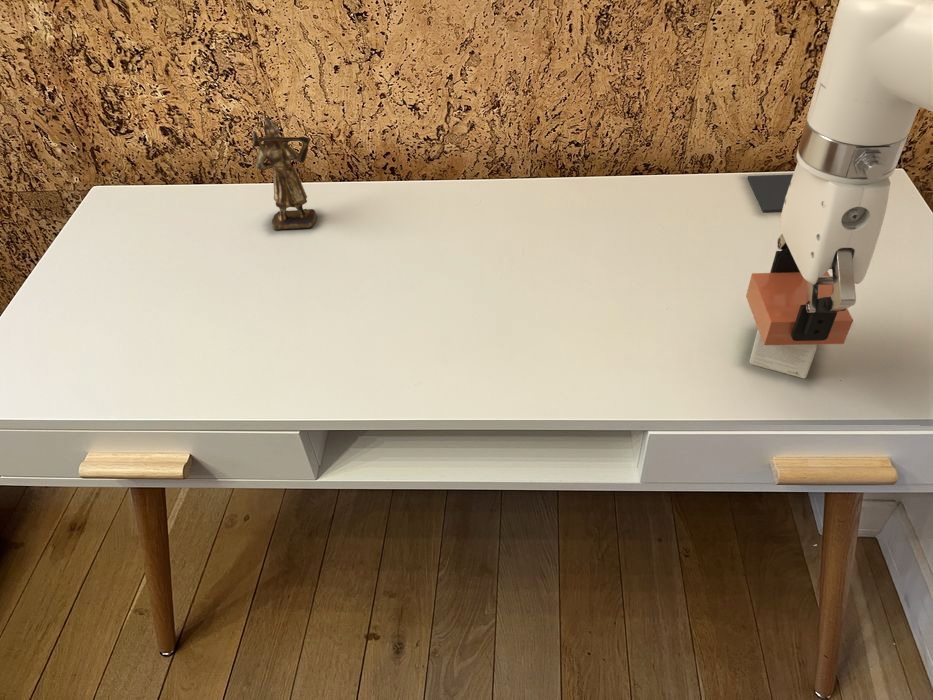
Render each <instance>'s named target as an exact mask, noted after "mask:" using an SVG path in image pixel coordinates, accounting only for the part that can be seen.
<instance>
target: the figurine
mask: <svg viewBox="0 0 933 700" xmlns="http://www.w3.org/2000/svg"><path fill="white" fill-rule="evenodd" d="M264 121H265V122H264V125H263V134H264V137H259V136H258V133H257V131H255V130H252V137H248V138H247V139H248V141H252V145H251V147H253V148H257V147H258V149H257V155H256V158H255V167H256V169H257V170H259V171H265V170H270V169H272V176H273V177H272V178H273V200H274V203H275V207H276V208H278V209H279V210H278V211H277V212H276V213H275V214H274V215H273V217H272V220H271V226H272V228H273V230H274V231H279V230H280V231H281V230H291V229H308V228H311V227H313V226H314V225H315V223H316V222H317V219H318V216H317V215H318V214H317V212H316V209H313V208H309V209H308V208H303V205H305V204H307V203H308V200H307V199H308V195H307V193H306V191H305V188H304V186H303V183H302V181H301V177H300V175H299V173H298V171H297V169H296V168H295V167H294V166H293V165H292V161H294V162H297V163H300V164H304V163H305V161H306V158H307V156H308V153H309V145H310V142H311V137H307V136H292V137H291V136H280V132H279V131H280V129H279V125H277V123H275V122H274V121H272V120H271V119H270V118H269V117H267V116H266V117H264ZM262 142H263V143H262ZM290 142H301V143H302V144H301V148H300V150H299V153H298V152H296V151H295V150H294V149H293V148H292V147H291V145H289V143H290ZM267 160H268V161H269V162H266V161H267ZM288 208H295V210H287V209H288Z"/></svg>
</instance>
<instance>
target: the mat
mask: <svg viewBox="0 0 933 700" xmlns="http://www.w3.org/2000/svg"><path fill="white" fill-rule="evenodd" d="M793 174H794V173H792V174H763V175H747V181H748V183H749V185H750V187H751V189H752V191H753V193H754V196H755V198H756V200H757V202H758V204H759V206H760V209H761V211H762V213H782V210H783V205H784V202H785V196H786V194H787V192H788V188H789V185H790V182H791V179H792V176H793Z"/></svg>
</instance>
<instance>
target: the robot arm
mask: <svg viewBox="0 0 933 700" xmlns="http://www.w3.org/2000/svg"><path fill="white" fill-rule="evenodd" d="M920 108H922V109H925V110H927V111H929V112H932V113H933V0H839V2H838V5H837V7H836V11H835V13H834V18H833V22H832V25H831V28H830V32H829V36H828V40H827V43H826V46H825V49H824V54H823V56H822V61H821V65H820V68H819V72H818V74H817V79H816V83H815V86H814V89H813V93H812V97H811V101H810V104H809V109H808V112H807V116H806V118H805V123H804V126H803V129H802V133H801V137H800V140H799V144H798V147H797V150H796V161H797V163H796V166H795V168H794V171H793V173H792V174H793V176H792V179H791V182H790V185H789V188H788V192H787V194H786V196H785V202H784V205H783V210H782V212H781V214H780V220H779V221H780V222H779V223H780V224H779V226H780V227H779V228H780V232H781V234H780V236H779V237H778V238H777V241H776V246H777V247H776V248H777V250H776V251H775V254H774V257H773V261H772V265H771V268H770V270H769V271H770V272H769V273H788V272H800V273H801V274H802V276H803V278H804V279H805V280H806V281H807V295H806V305H801V306H800V309H799V312H798V315H797V318H796V321H795V324H794V327H793V330H792V333H791V337H792V339H793V340H794V341H823V340H826V339H827V338H828V336H829V333H830V331H831V328H832V325H833V323H834V320H835V317H836V315H837V312H841V311H845V310H846V309H849V308H851V307H853V306H855V304H856V302H857V294H856V285H860V284H861V283H862V282H863V281H864V279H865V277H866V275H867V273H868V270H869V267H870V264H871V261H872V259H873V256H874V253H875V251H876V247H877V244H878V241H879V237H880V234H881V231H882V226H883V225H884V219H885V215H886V212H887V207H888V202H889V197H890V188H891V180H890V177H892V175H893V174H894V173H895V170H896V168H897V165H898V162H899V160H900V158H901V155H902V152H903V150H904V147H905V144H906V142H907V140H908V137H909V134H910V132H911V129H912V128H913V127H912V126H913V124H914V122H915V119H916V116H917V114H918V111H919V109H920ZM829 270H831V273H832V275H830V276H823V275H824V274H825V273H826V272H829ZM825 284H833V287H832V295H830V297H823V298H819V299H818V287H819V285H825Z"/></svg>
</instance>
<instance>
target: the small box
mask: <svg viewBox="0 0 933 700" xmlns="http://www.w3.org/2000/svg"><path fill="white" fill-rule="evenodd" d="M818 345H819V344H813V345H764V343H763V341H762V338H761V335H760V333H759V330H758V329H757V332H756V335H755V339H754V343H753V346H752V350H751V354H750V358H749V364H750V365H752V366H754V367H759V368H763V369H767V370H771V371H774V372H778V373H783V374H785V375H790V376H793V377H797V378H800V379H806V378H807V376H808V374H809V371H810V368H811V365H812V362H813V359H814V357H815V355H816V351H817V348H818Z"/></svg>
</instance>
